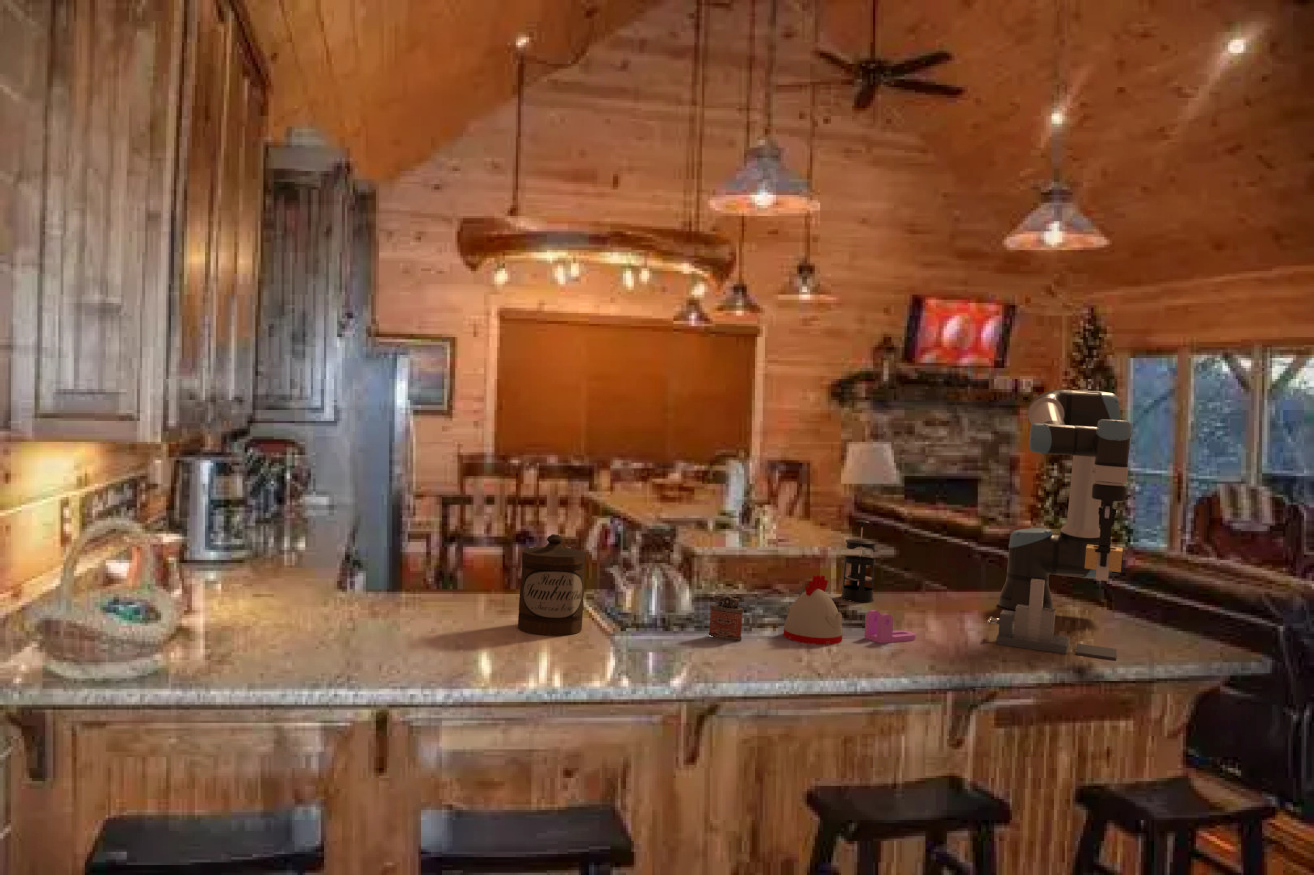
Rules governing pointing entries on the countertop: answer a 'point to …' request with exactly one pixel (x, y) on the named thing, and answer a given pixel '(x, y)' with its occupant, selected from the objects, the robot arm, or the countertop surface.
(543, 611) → the wooden container
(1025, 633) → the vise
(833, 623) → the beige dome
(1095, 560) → the orange-brown square frame
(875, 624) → the bracket
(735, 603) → the lighter
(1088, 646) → the rubber mat
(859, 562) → the french press
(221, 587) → the countertop surface
